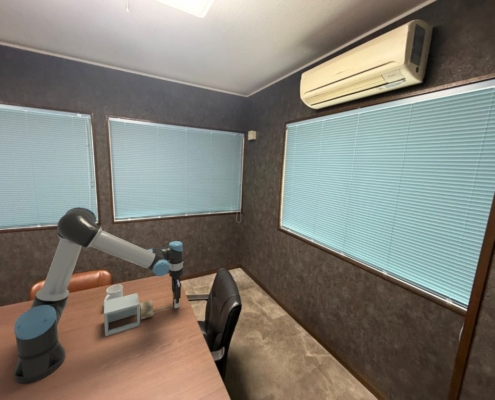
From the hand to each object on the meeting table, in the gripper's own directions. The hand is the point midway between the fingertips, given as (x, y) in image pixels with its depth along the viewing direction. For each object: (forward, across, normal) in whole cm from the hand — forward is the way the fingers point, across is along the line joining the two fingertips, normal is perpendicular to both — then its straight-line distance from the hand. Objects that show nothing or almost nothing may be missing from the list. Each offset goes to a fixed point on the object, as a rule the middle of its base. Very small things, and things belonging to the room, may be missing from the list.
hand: (176, 305), depth 127 cm
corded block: (0, 0, +9) cm, 9 cm away
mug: (+2, +18, +32) cm, 36 cm away
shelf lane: (+2, 0, +27) cm, 27 cm away
